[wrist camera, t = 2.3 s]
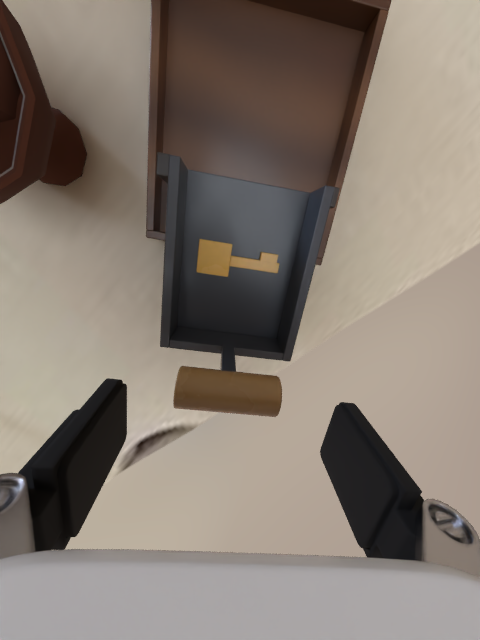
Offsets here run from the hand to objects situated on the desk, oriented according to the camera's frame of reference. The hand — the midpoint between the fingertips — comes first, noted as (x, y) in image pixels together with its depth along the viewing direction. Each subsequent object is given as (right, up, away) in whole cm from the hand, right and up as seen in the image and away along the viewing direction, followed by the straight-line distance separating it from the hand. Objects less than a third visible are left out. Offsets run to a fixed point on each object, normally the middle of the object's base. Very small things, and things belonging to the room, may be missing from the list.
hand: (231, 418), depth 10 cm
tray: (+1, +19, +9) cm, 21 cm away
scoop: (0, +8, +7) cm, 10 cm away
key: (0, +8, +6) cm, 10 cm away
